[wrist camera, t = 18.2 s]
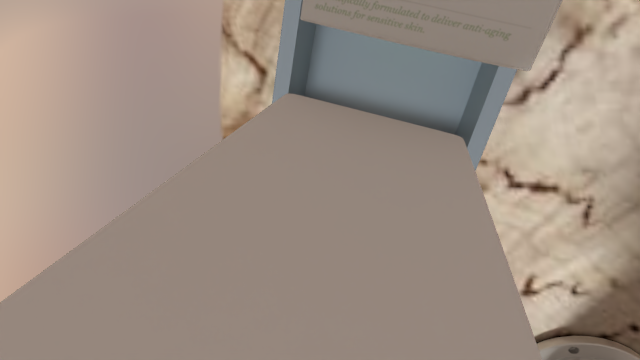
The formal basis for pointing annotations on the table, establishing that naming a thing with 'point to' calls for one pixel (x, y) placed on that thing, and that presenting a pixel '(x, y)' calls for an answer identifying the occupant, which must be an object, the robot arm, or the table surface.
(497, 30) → the skincare box
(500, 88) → the tote
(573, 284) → the table surface
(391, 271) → the milk carton
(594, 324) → the table surface
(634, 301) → the table surface
